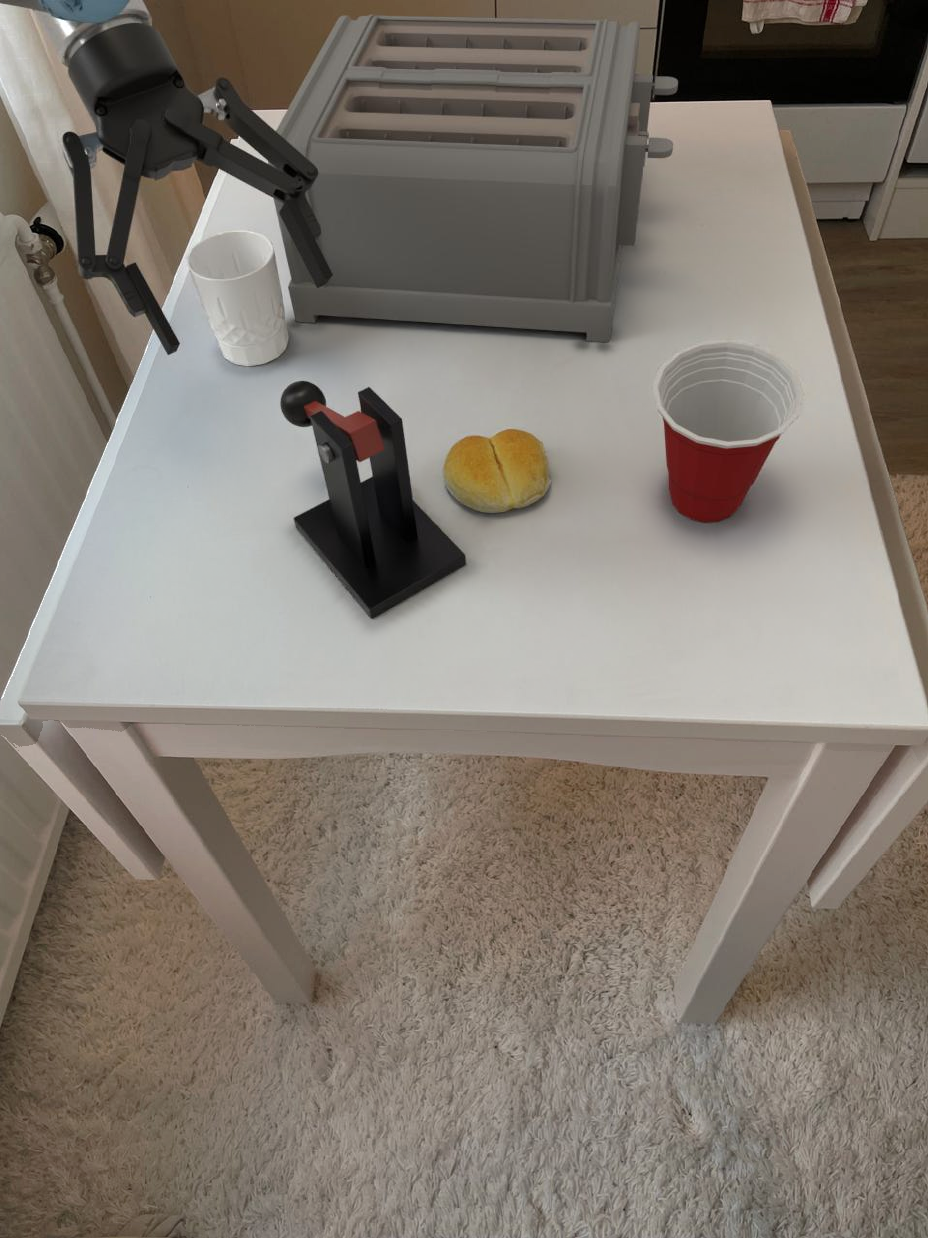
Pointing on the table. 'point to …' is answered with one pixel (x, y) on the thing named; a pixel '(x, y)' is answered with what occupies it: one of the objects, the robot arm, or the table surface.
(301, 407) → the lever
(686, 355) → the plastic cup
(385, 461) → the bracket
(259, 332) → the white cup
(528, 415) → the table surface
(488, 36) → the toaster
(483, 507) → the bread roll
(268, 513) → the table surface
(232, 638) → the table surface
